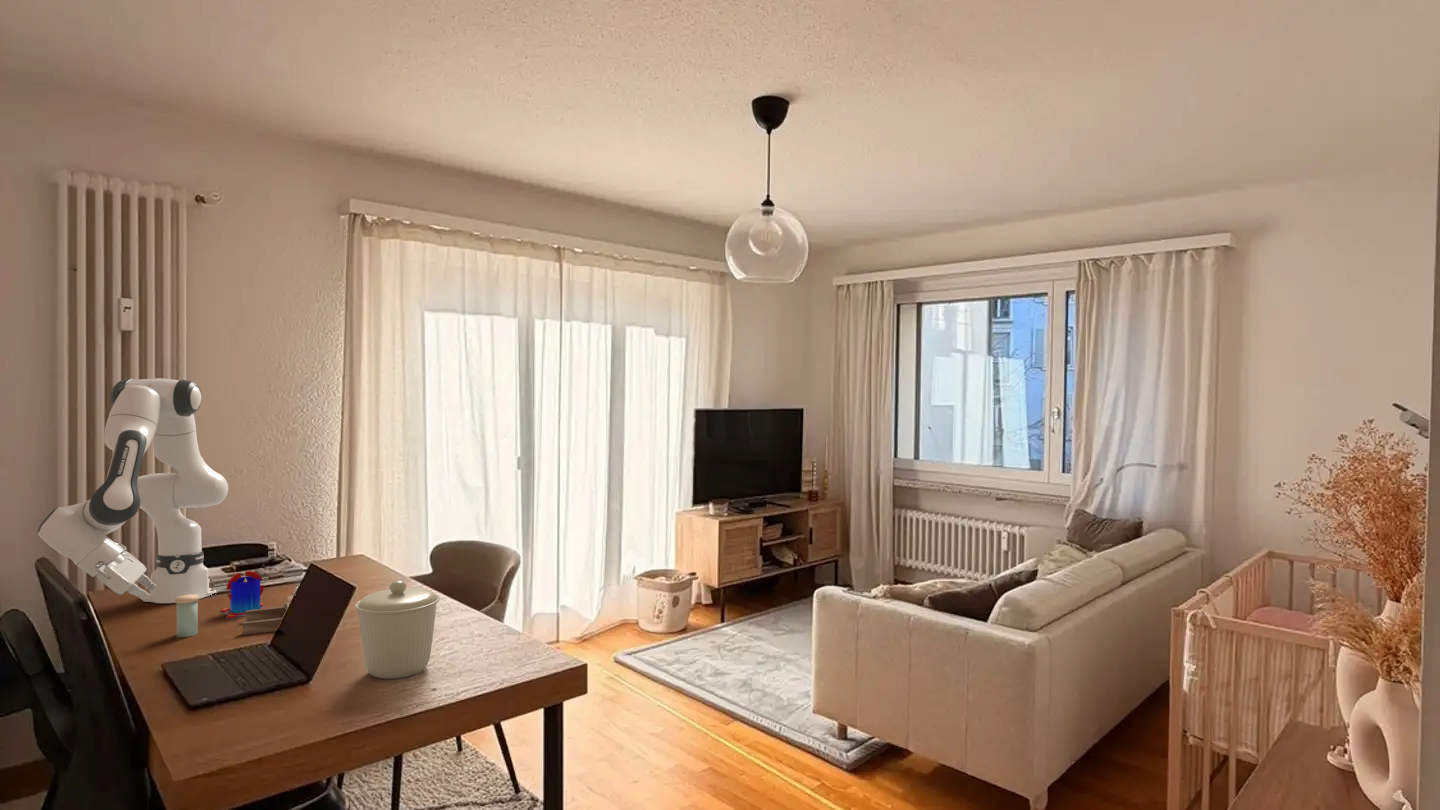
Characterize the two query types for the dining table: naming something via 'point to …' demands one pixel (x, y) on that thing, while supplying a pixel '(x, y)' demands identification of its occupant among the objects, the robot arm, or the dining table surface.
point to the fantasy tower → (244, 594)
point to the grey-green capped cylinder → (187, 615)
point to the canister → (397, 630)
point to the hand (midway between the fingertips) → (150, 593)
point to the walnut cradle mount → (264, 619)
